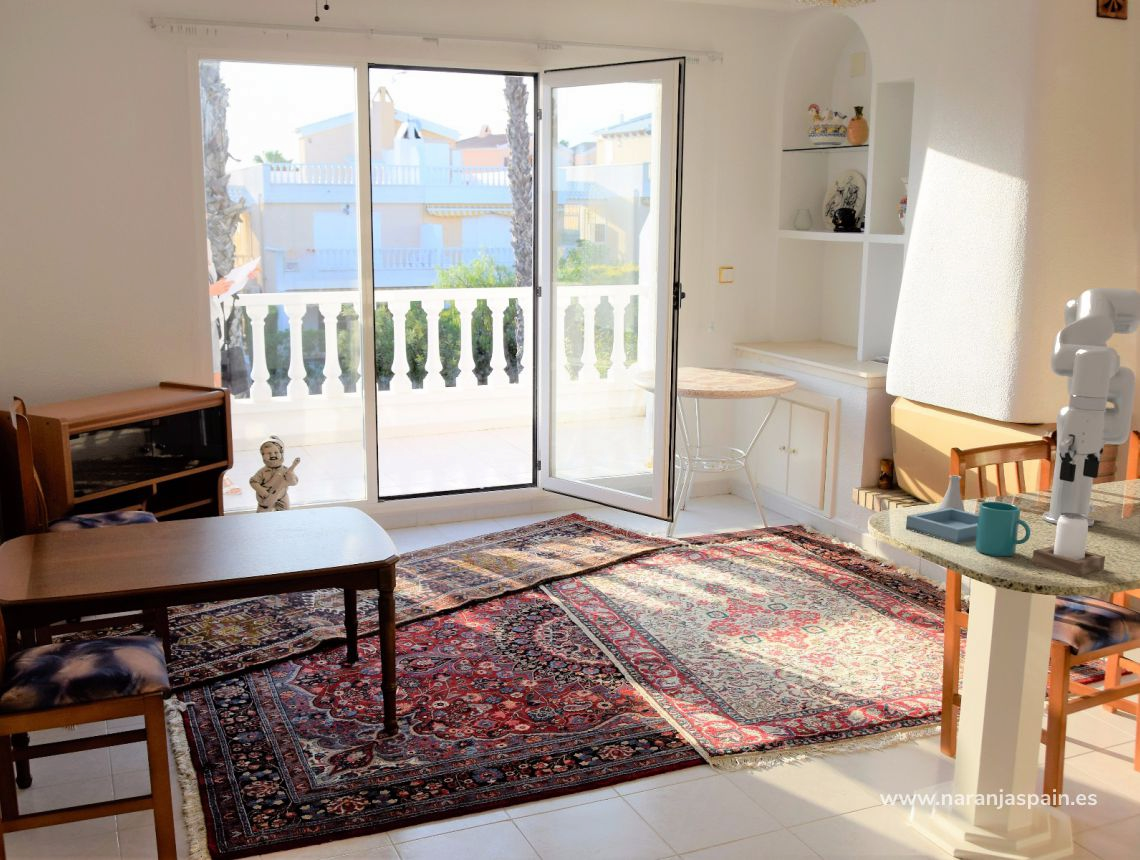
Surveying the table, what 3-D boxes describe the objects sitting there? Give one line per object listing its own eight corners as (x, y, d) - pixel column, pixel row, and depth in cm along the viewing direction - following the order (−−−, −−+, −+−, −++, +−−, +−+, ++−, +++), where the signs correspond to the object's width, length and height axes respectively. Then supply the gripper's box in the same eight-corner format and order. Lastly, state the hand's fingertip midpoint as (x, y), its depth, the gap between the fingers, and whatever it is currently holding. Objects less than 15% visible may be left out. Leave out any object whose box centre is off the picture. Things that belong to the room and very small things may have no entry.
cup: (1021, 562, 248) (1026, 515, 246) (969, 551, 256) (974, 505, 254) (1033, 554, 255) (1038, 508, 253) (982, 544, 263) (986, 499, 261)
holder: (1058, 556, 254) (1059, 544, 254) (1103, 569, 246) (1105, 556, 245) (1032, 563, 248) (1033, 550, 248) (1077, 576, 239) (1079, 563, 239)
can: (1079, 572, 242) (1086, 520, 240) (1049, 566, 246) (1055, 515, 244) (1085, 566, 248) (1092, 515, 245) (1056, 560, 251) (1062, 510, 249)
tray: (948, 520, 285) (950, 507, 284) (999, 534, 273) (1001, 520, 272) (905, 528, 274) (907, 515, 274) (956, 543, 262) (958, 529, 262)
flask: (969, 515, 291) (973, 479, 289) (943, 514, 291) (946, 478, 289) (959, 509, 298) (963, 473, 296) (933, 508, 298) (937, 473, 296)
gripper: (1092, 399, 248) (1083, 472, 251) (1050, 403, 238) (1041, 479, 241) (1124, 404, 242) (1114, 478, 245) (1083, 408, 232) (1073, 485, 235)
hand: (1078, 478), depth 243 cm, fingers open, 9 cm apart
